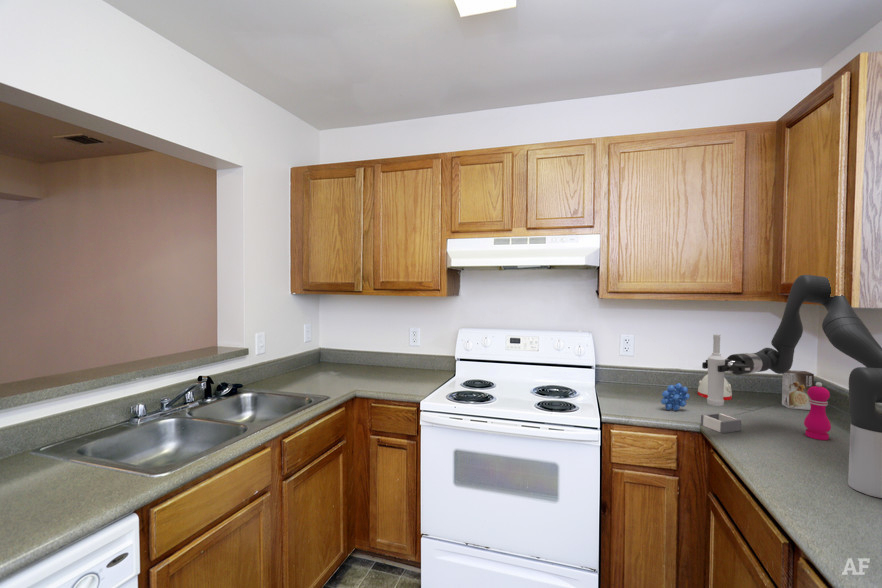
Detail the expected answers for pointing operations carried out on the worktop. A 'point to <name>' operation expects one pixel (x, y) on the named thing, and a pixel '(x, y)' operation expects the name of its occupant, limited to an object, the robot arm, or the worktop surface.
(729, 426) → the socket collar
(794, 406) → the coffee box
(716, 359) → the bottle
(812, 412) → the pepper mill
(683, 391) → the blue bumpy cluster
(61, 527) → the worktop surface
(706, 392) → the kitchen timer
